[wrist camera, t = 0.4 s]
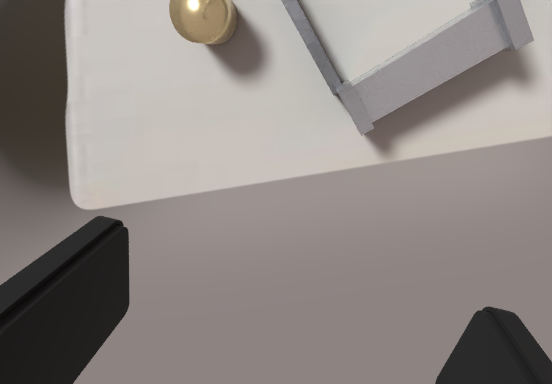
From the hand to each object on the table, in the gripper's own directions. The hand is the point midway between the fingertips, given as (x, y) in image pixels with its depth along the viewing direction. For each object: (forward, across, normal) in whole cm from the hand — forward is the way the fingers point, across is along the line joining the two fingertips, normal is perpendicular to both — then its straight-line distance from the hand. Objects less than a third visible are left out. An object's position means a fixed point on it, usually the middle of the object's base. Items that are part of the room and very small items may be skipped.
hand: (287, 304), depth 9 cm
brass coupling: (+30, +12, -8) cm, 33 cm away
